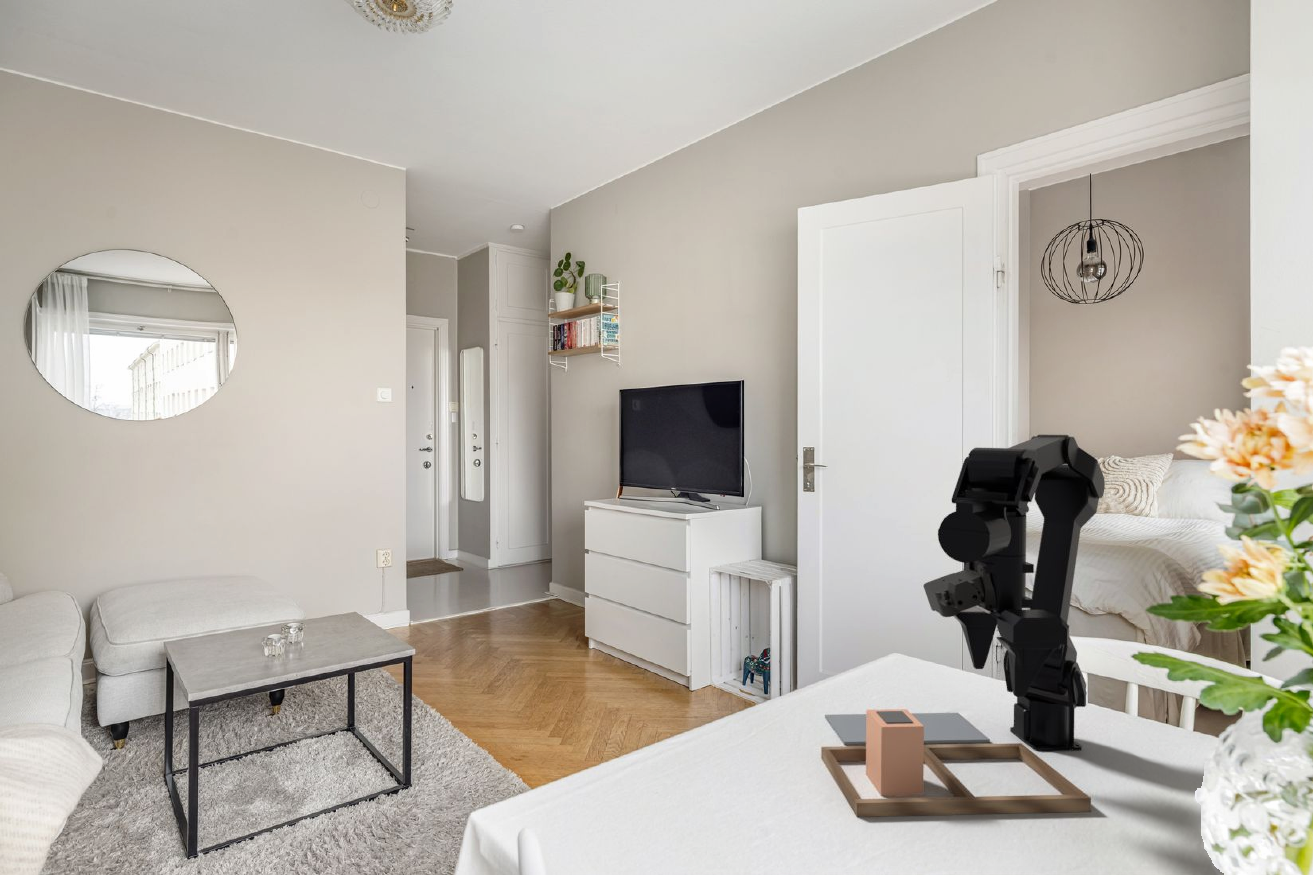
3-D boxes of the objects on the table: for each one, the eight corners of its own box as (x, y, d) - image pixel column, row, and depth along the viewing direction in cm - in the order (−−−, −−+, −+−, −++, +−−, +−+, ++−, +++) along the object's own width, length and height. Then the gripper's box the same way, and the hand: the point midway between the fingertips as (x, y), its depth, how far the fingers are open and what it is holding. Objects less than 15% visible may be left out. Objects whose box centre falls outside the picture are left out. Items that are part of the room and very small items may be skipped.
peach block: (905, 773, 86) (906, 707, 86) (923, 794, 82) (923, 724, 81) (865, 774, 86) (866, 708, 86) (880, 795, 81) (881, 725, 81)
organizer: (1021, 754, 92) (1021, 743, 92) (1090, 811, 78) (1090, 797, 78) (821, 758, 90) (821, 746, 90) (856, 816, 77) (856, 802, 77)
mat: (958, 715, 104) (958, 712, 104) (989, 742, 95) (989, 739, 95) (824, 717, 103) (824, 714, 103) (844, 744, 94) (844, 741, 94)
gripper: (902, 540, 93) (901, 657, 94) (971, 567, 75) (969, 713, 75) (984, 540, 94) (983, 656, 94) (1073, 567, 75) (1071, 712, 75)
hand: (997, 681), depth 85 cm, fingers open, 9 cm apart
